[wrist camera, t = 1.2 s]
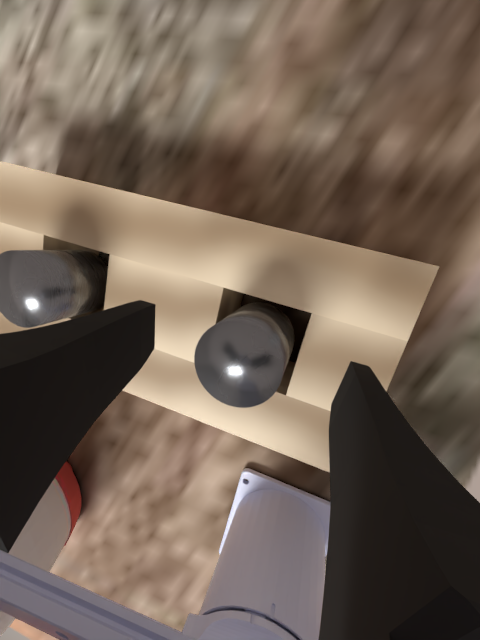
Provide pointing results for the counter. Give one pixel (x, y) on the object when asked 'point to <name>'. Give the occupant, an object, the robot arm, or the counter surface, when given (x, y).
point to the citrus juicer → (48, 527)
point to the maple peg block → (225, 297)
